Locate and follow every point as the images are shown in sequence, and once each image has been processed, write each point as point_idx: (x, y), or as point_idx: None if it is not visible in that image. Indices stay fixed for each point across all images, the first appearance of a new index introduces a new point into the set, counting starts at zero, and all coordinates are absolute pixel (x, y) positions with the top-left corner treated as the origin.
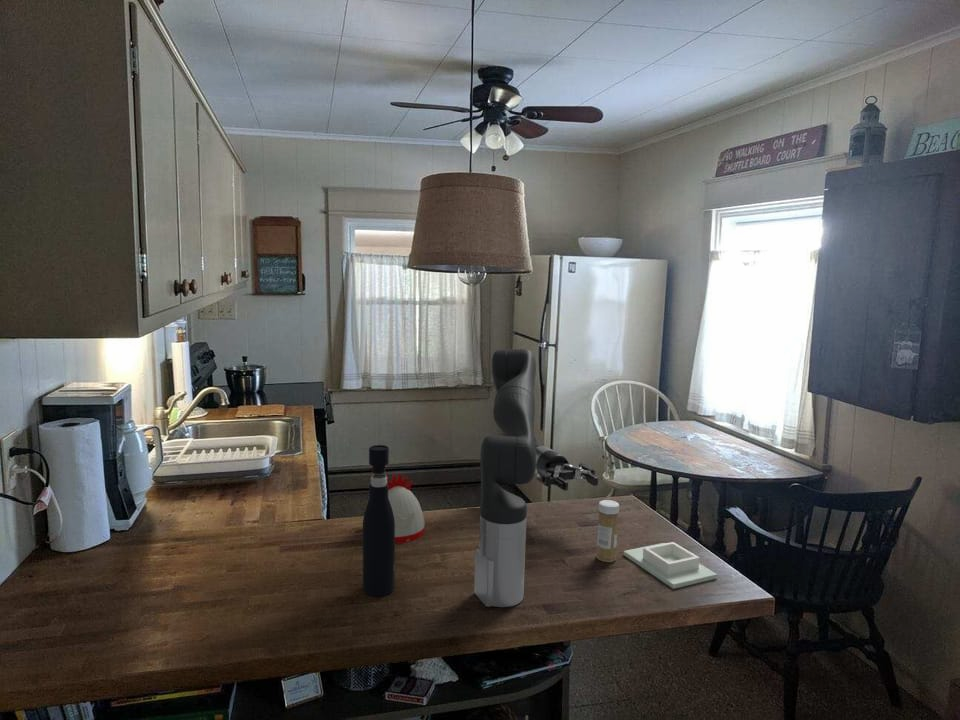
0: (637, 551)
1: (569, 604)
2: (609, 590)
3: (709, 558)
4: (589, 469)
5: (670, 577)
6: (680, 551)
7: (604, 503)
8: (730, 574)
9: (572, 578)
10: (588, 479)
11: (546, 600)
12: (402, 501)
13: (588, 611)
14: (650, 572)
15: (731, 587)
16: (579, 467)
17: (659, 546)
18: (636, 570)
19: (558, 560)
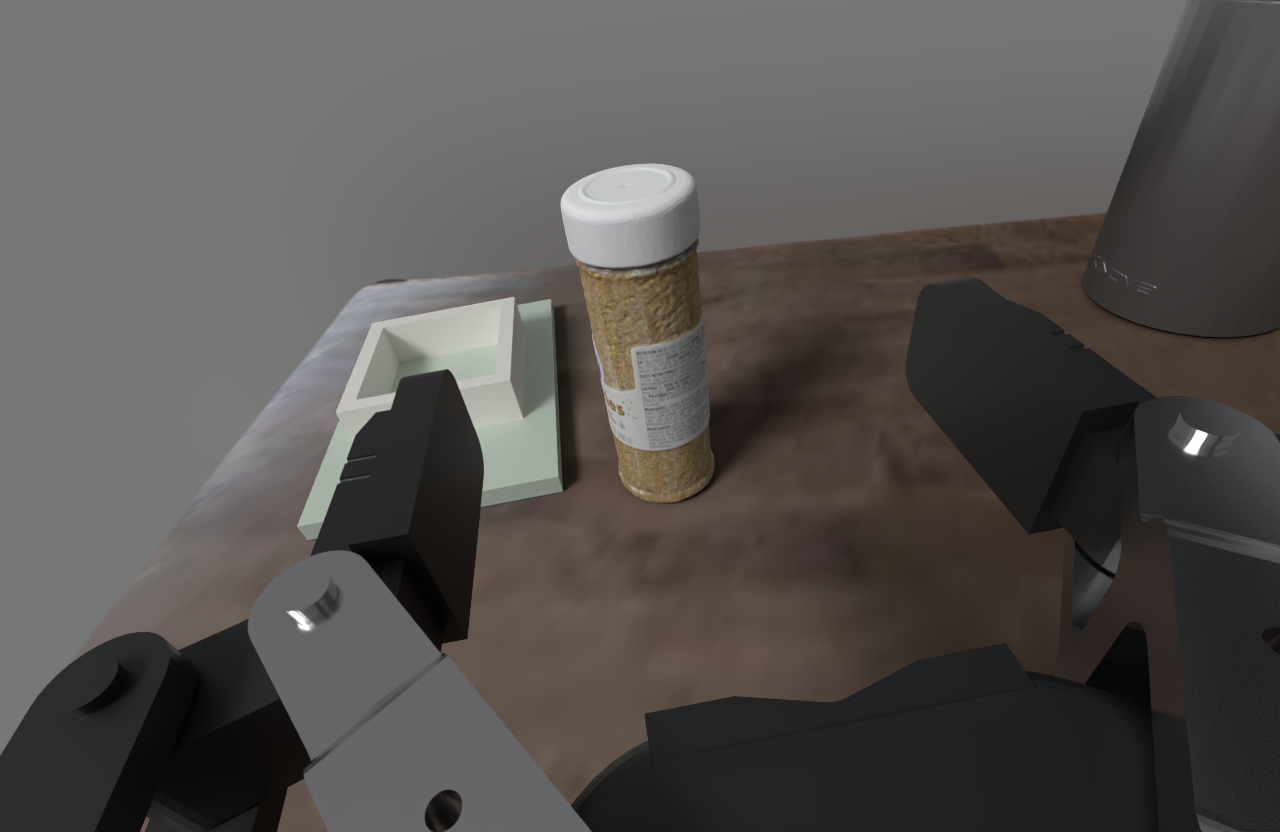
0: (499, 466)
1: (911, 268)
2: (757, 310)
3: (254, 438)
4: (136, 741)
5: (529, 322)
6: (372, 380)
7: (661, 180)
8: (316, 359)
9: (875, 362)
10: (452, 560)
11: (990, 280)
12: None
13: (858, 251)
14: (556, 370)
15: (390, 314)
16: (370, 775)
17: None
18: (593, 390)
19: (924, 478)
